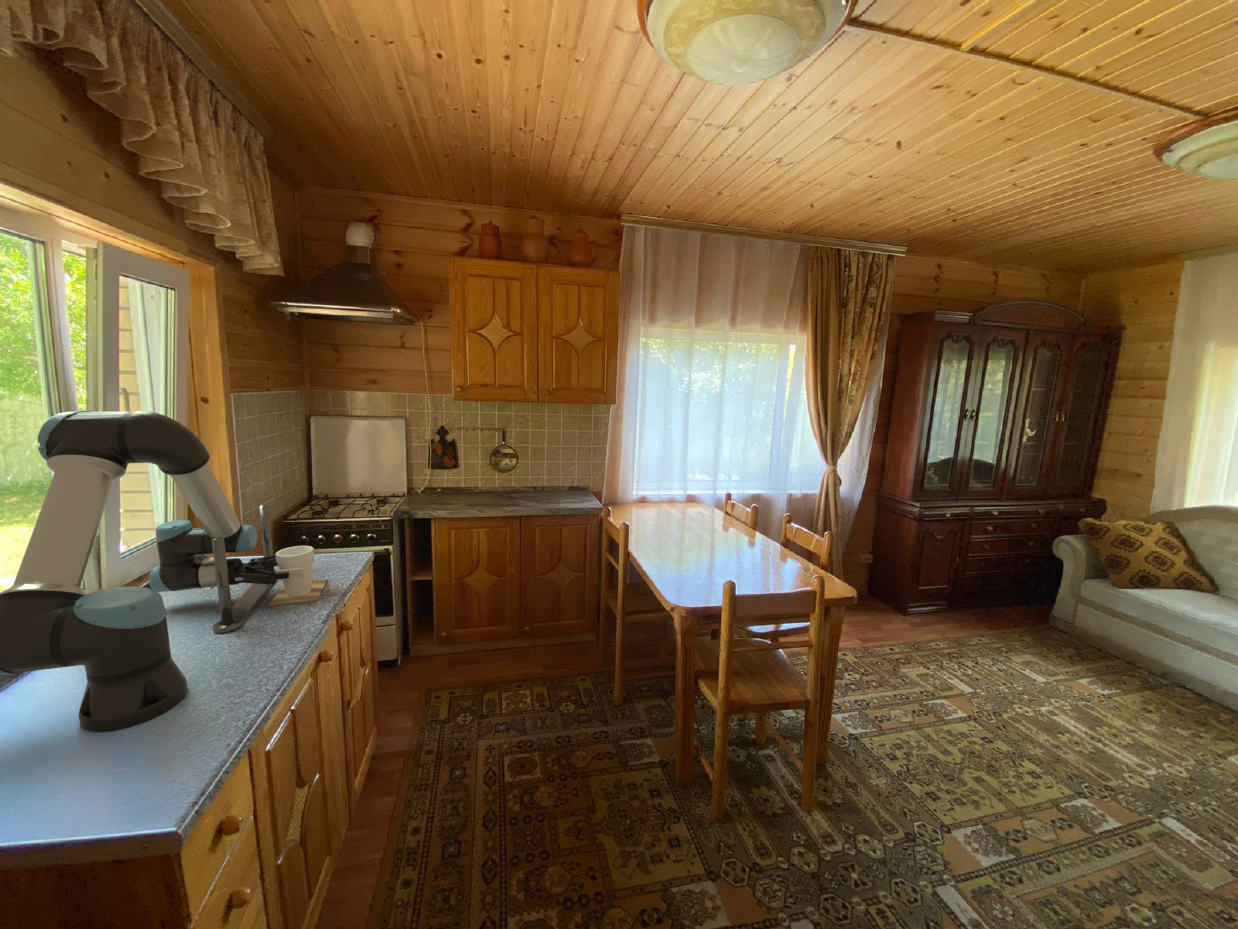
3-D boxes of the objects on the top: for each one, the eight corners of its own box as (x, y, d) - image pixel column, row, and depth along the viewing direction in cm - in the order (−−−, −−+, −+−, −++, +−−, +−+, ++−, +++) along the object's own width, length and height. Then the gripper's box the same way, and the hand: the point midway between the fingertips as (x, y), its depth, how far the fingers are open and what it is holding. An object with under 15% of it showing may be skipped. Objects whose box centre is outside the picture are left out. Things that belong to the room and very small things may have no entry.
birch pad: (317, 600, 143) (317, 599, 143) (268, 606, 139) (268, 604, 139) (328, 580, 158) (327, 578, 158) (284, 584, 154) (284, 583, 153)
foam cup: (313, 596, 144) (309, 554, 142) (276, 601, 141) (271, 558, 139) (319, 583, 153) (316, 544, 151) (285, 587, 150) (280, 547, 148)
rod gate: (237, 631, 125) (227, 541, 121) (209, 635, 123) (197, 543, 119) (283, 572, 164) (277, 502, 160) (262, 574, 161) (255, 503, 157)
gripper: (240, 569, 152) (318, 562, 159) (205, 603, 129) (299, 592, 136) (237, 546, 150) (316, 540, 158) (202, 576, 127) (296, 567, 135)
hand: (308, 564), depth 147 cm, fingers open, 13 cm apart
